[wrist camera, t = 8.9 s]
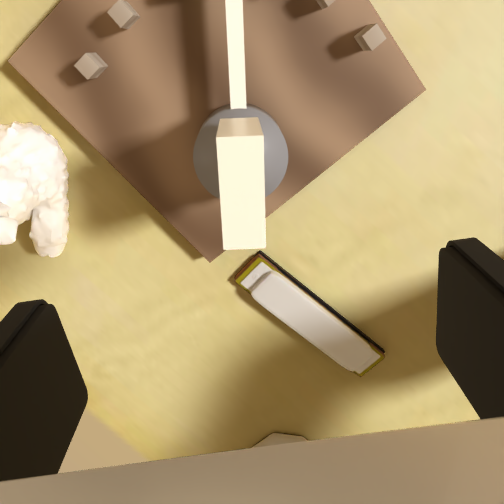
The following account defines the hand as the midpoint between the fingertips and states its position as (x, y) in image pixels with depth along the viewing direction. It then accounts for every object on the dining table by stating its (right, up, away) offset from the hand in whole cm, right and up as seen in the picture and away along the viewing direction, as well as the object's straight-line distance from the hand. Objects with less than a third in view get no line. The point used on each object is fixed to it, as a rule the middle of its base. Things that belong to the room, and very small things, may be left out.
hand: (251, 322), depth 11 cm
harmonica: (+5, -3, +27) cm, 28 cm away
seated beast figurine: (-16, +7, +21) cm, 27 cm away
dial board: (-2, +13, +18) cm, 23 cm away
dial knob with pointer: (-1, +12, +17) cm, 21 cm away
